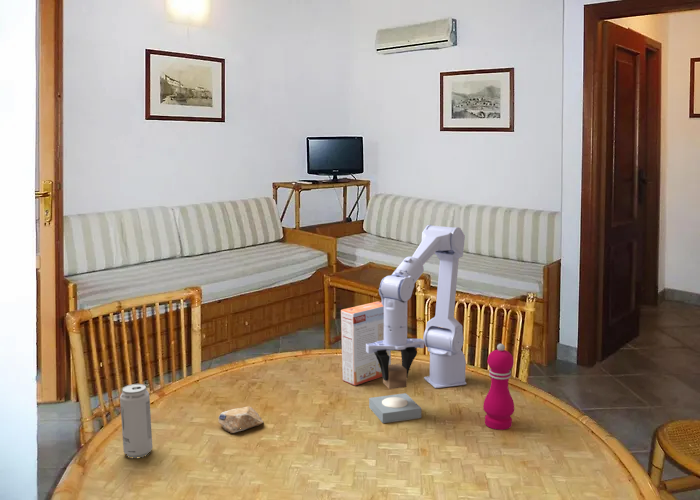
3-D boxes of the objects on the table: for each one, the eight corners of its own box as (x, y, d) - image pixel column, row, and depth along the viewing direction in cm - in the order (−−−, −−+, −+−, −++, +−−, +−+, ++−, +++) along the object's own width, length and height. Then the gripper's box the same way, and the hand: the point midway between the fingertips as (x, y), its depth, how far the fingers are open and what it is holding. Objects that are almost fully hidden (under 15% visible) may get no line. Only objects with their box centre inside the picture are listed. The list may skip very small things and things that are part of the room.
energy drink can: (123, 449, 149) (118, 385, 146) (151, 445, 151) (147, 381, 148) (124, 461, 143) (119, 395, 141) (153, 456, 145) (149, 391, 143)
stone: (215, 426, 161) (214, 408, 160) (254, 415, 167) (253, 398, 166) (230, 438, 154) (230, 420, 154) (270, 427, 161) (270, 409, 160)
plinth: (405, 402, 174) (405, 392, 174) (421, 417, 165) (421, 407, 164) (369, 407, 171) (369, 397, 171) (382, 423, 162) (382, 412, 161)
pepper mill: (514, 432, 157) (517, 349, 153) (482, 429, 158) (485, 347, 155) (513, 419, 164) (516, 340, 160) (482, 416, 165) (485, 338, 162)
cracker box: (377, 369, 198) (377, 300, 195) (391, 374, 194) (392, 304, 190) (340, 380, 190) (340, 308, 186) (354, 386, 185) (354, 312, 181)
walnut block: (399, 380, 170) (400, 363, 169) (406, 387, 165) (406, 369, 165) (382, 382, 168) (383, 365, 168) (389, 389, 164) (389, 371, 163)
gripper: (372, 332, 158) (372, 387, 160) (429, 326, 162) (428, 380, 165) (363, 324, 165) (363, 376, 167) (418, 319, 169) (417, 370, 171)
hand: (394, 378), depth 166 cm, fingers closed on walnut block, 4 cm apart
